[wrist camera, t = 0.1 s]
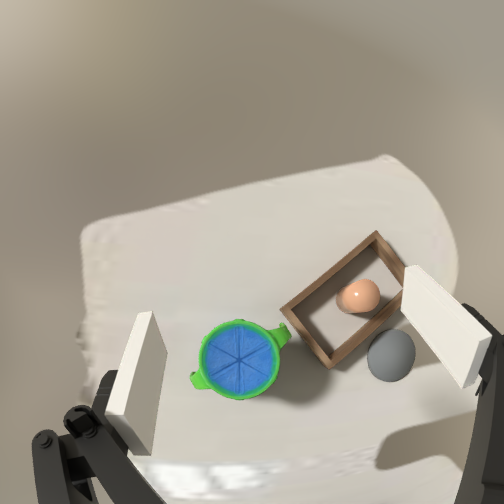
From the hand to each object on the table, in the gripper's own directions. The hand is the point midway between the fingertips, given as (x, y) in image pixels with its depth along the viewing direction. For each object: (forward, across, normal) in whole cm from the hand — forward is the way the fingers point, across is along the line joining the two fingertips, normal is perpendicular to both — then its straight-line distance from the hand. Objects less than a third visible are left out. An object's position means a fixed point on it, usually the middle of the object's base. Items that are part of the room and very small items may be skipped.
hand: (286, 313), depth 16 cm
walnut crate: (+29, -14, +20) cm, 38 cm away
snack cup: (+26, +4, +25) cm, 36 cm away
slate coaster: (+23, -20, +29) cm, 42 cm away
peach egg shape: (+29, -14, +20) cm, 38 cm away
